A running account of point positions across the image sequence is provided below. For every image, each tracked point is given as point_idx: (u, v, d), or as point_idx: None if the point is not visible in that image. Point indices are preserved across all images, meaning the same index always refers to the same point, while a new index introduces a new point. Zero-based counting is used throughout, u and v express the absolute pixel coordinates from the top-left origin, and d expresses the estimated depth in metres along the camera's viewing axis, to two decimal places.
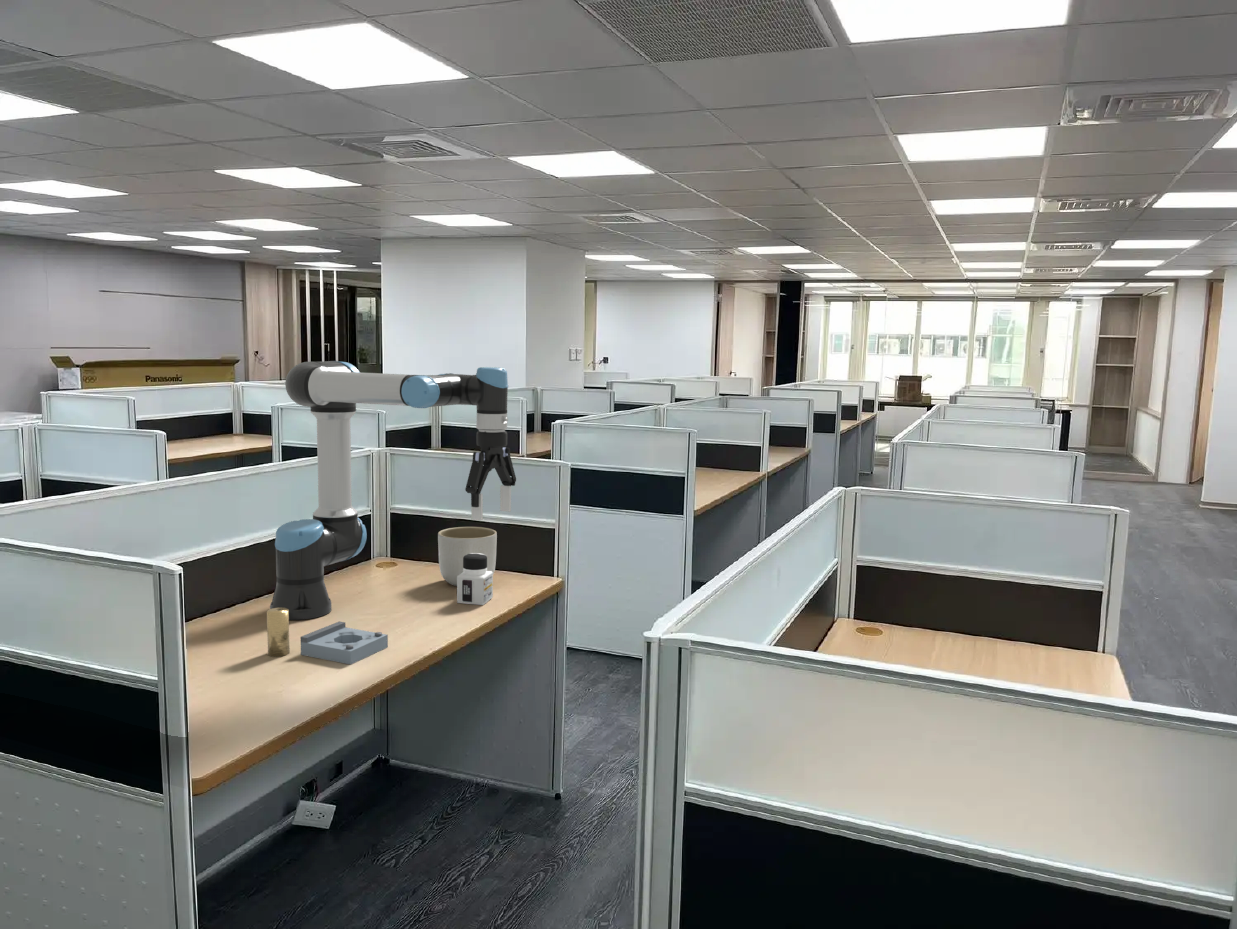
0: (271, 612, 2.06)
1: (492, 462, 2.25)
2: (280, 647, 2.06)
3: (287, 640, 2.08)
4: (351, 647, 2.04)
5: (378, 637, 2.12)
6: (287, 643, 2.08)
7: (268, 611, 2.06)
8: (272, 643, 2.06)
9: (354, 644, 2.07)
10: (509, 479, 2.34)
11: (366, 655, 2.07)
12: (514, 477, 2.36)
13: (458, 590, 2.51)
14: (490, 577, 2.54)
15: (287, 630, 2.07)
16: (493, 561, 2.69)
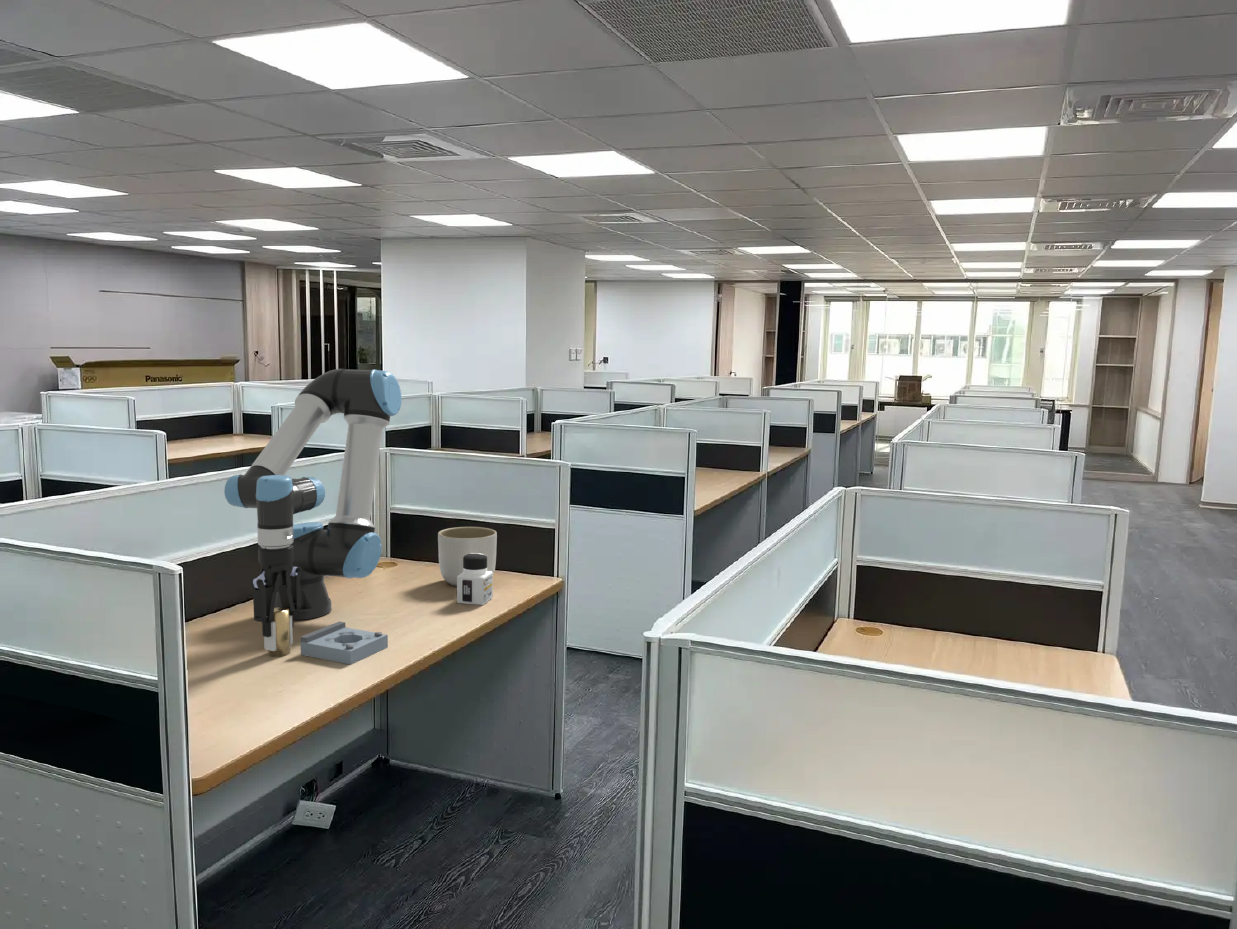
0: None
1: (276, 583, 2.04)
2: (280, 646, 2.06)
3: (287, 640, 2.08)
4: (351, 647, 2.04)
5: (378, 637, 2.12)
6: (287, 643, 2.08)
7: None
8: None
9: (354, 644, 2.07)
10: (291, 606, 2.10)
11: (366, 655, 2.07)
12: (298, 604, 2.12)
13: (458, 590, 2.51)
14: (490, 577, 2.54)
15: (287, 630, 2.08)
16: (493, 561, 2.69)
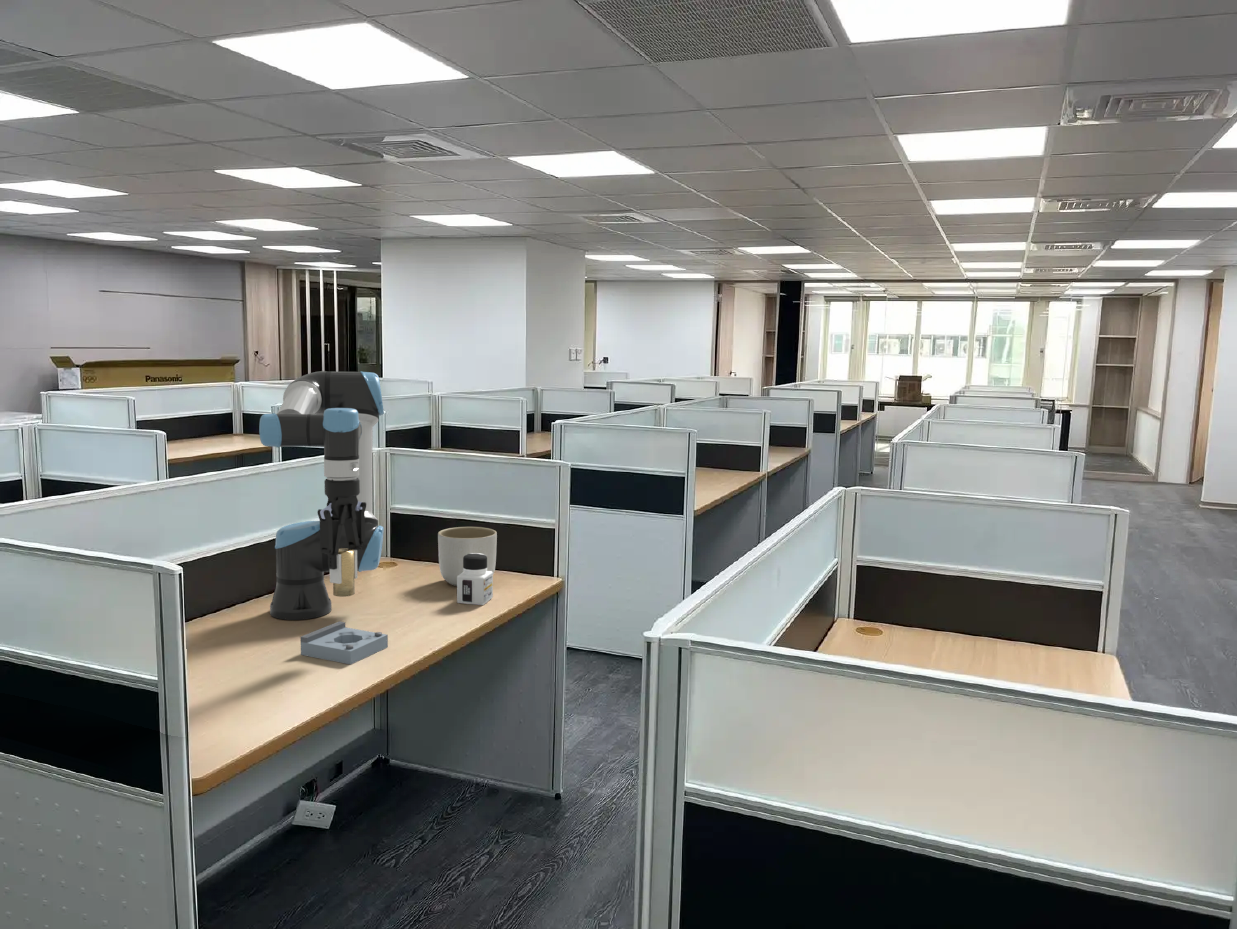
0: None
1: (342, 515, 2.04)
2: (345, 586, 2.06)
3: (352, 580, 2.08)
4: (351, 647, 2.04)
5: (378, 637, 2.12)
6: (352, 583, 2.08)
7: None
8: None
9: (354, 644, 2.07)
10: (356, 540, 2.09)
11: (366, 655, 2.07)
12: (363, 539, 2.12)
13: (458, 590, 2.51)
14: (490, 577, 2.54)
15: (352, 570, 2.08)
16: (493, 561, 2.69)
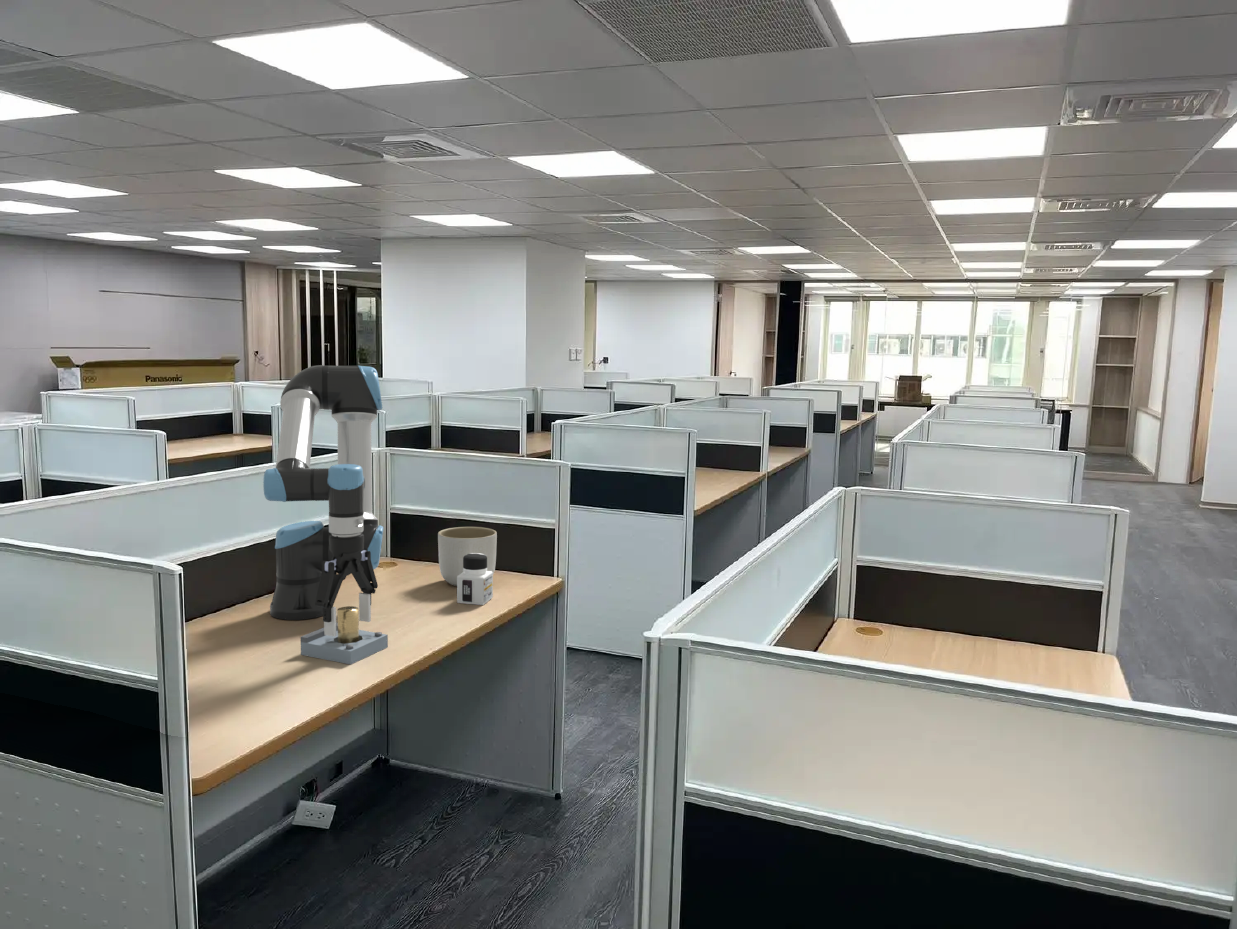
0: (342, 611, 2.08)
1: (346, 570, 2.05)
2: None
3: (357, 638, 2.10)
4: (351, 647, 2.04)
5: (378, 637, 2.12)
6: (357, 641, 2.10)
7: (339, 610, 2.09)
8: (343, 641, 2.08)
9: (354, 644, 2.07)
10: (368, 586, 2.14)
11: (366, 655, 2.07)
12: (375, 583, 2.16)
13: (458, 590, 2.51)
14: (490, 577, 2.54)
15: (357, 628, 2.10)
16: (493, 561, 2.69)
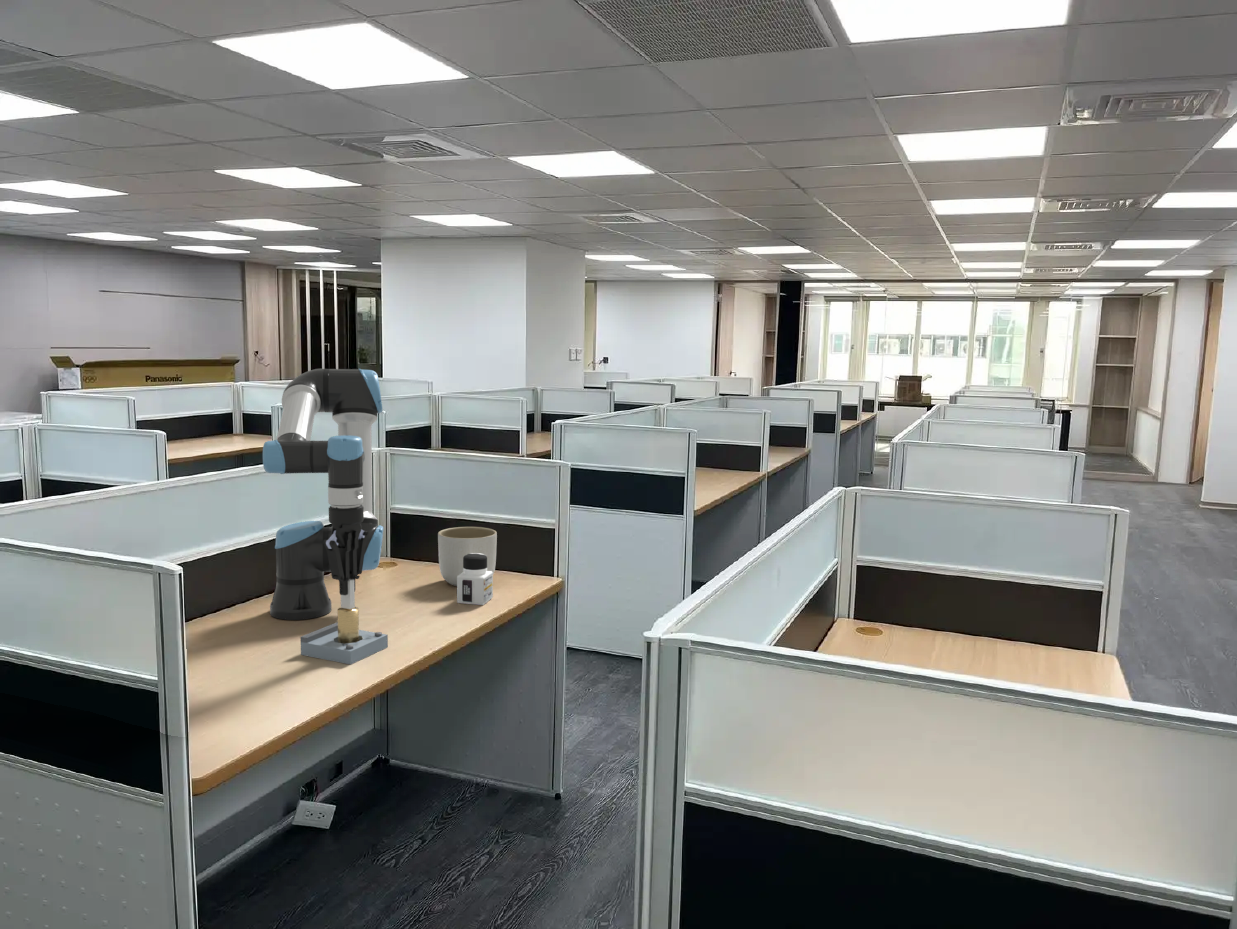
0: (342, 611, 2.08)
1: (348, 542, 2.05)
2: None
3: (357, 638, 2.10)
4: (351, 647, 2.04)
5: (378, 637, 2.12)
6: (357, 641, 2.10)
7: (339, 610, 2.09)
8: (343, 641, 2.08)
9: (354, 644, 2.07)
10: (354, 569, 2.09)
11: (366, 655, 2.07)
12: (360, 568, 2.11)
13: (458, 590, 2.51)
14: (490, 577, 2.54)
15: (357, 628, 2.10)
16: (493, 561, 2.69)
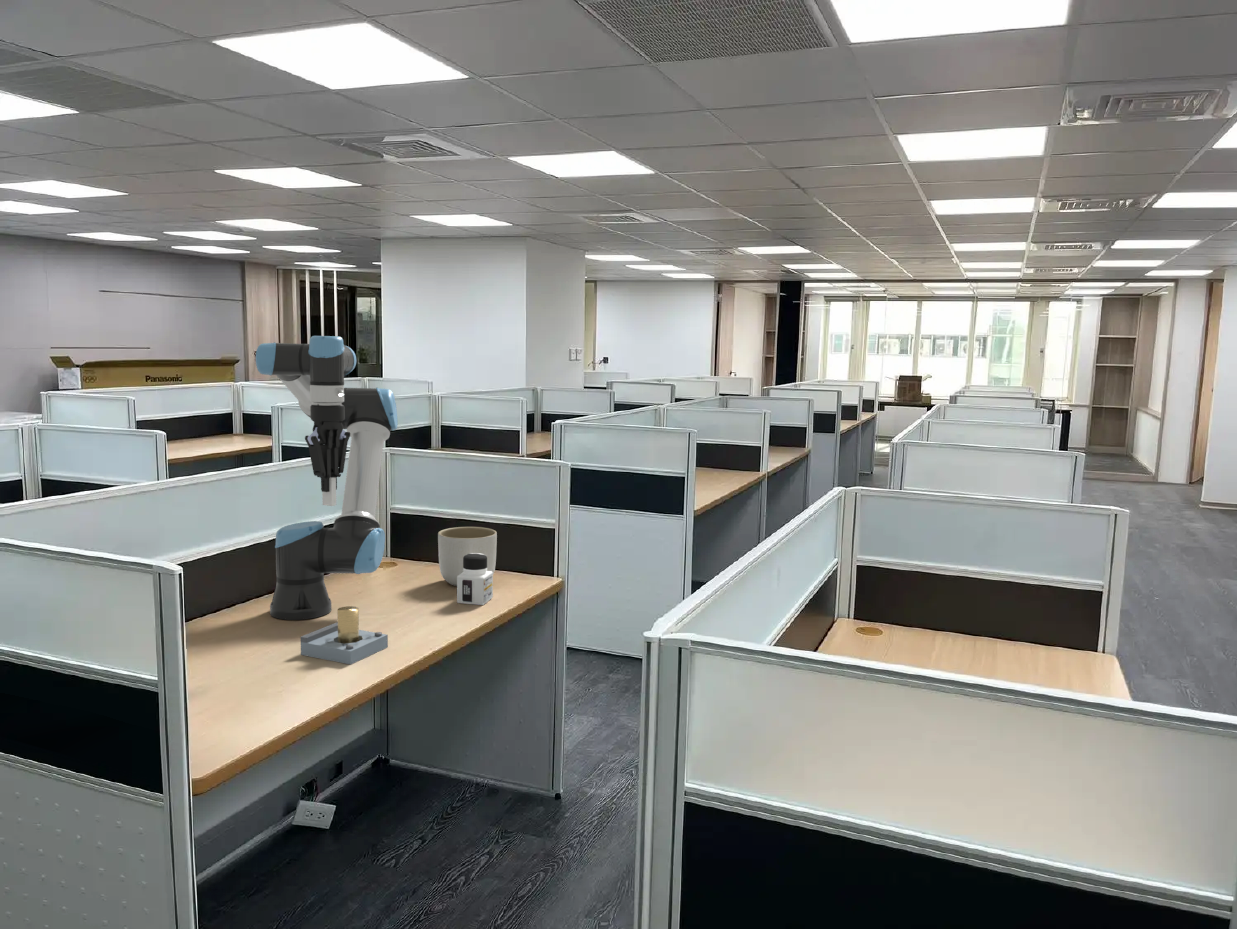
0: (342, 611, 2.08)
1: (329, 439, 2.11)
2: None
3: (357, 638, 2.10)
4: (351, 647, 2.04)
5: (378, 637, 2.12)
6: (357, 641, 2.10)
7: (339, 610, 2.09)
8: (343, 641, 2.08)
9: (354, 644, 2.07)
10: (336, 467, 2.14)
11: (366, 655, 2.07)
12: (342, 467, 2.16)
13: (458, 590, 2.51)
14: (490, 577, 2.54)
15: (357, 628, 2.10)
16: (493, 561, 2.69)
